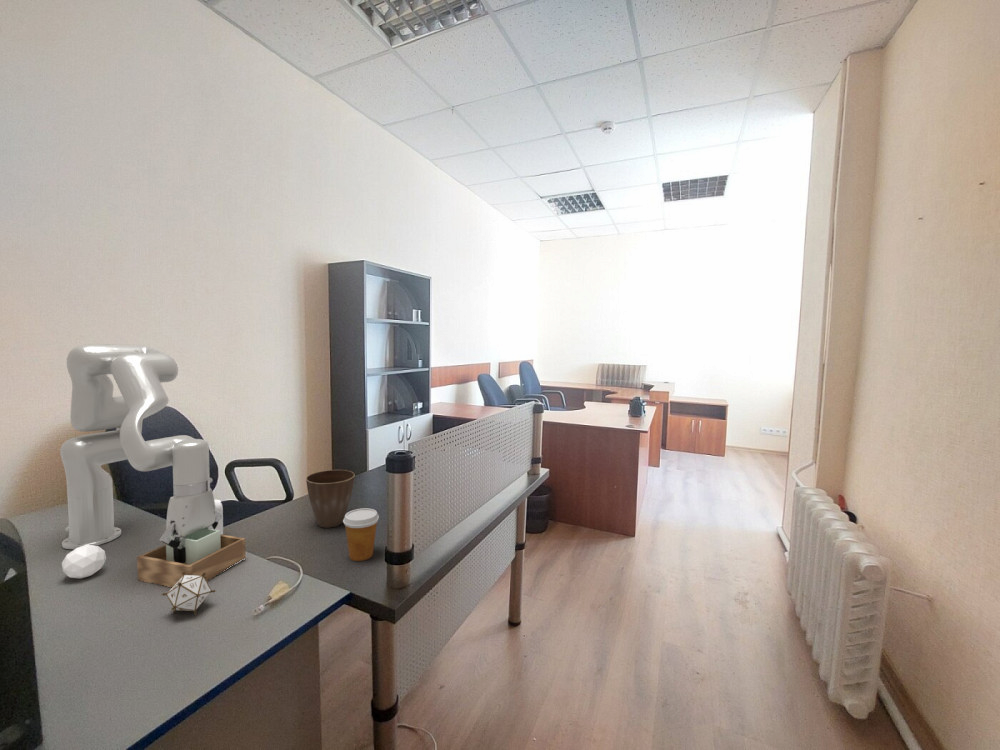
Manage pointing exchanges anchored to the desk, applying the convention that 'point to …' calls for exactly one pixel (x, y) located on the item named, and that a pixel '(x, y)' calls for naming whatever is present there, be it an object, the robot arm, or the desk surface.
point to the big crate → (168, 572)
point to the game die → (189, 592)
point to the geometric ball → (83, 561)
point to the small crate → (198, 545)
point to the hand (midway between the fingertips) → (193, 554)
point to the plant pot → (330, 495)
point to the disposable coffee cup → (361, 532)
